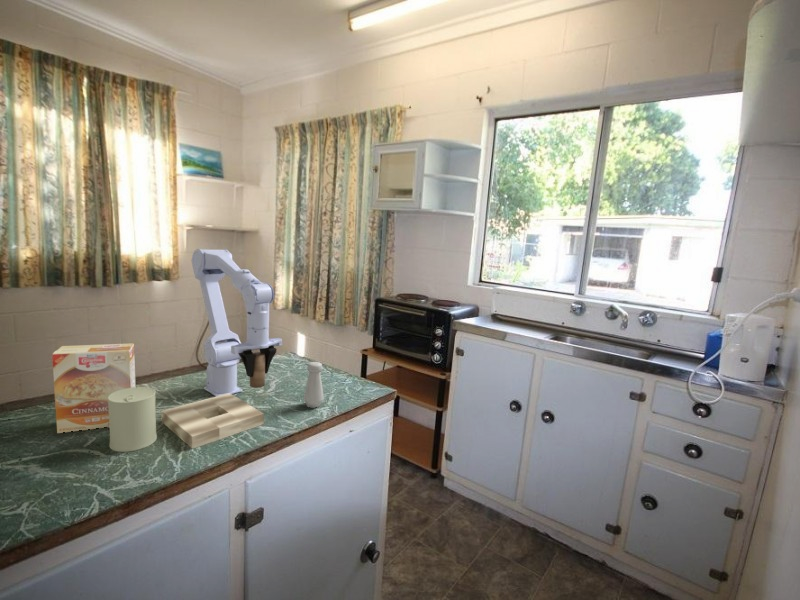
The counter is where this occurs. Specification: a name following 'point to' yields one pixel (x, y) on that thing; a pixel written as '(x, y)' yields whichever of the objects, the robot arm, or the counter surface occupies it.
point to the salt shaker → (314, 386)
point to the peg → (258, 371)
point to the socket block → (211, 419)
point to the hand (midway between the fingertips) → (257, 374)
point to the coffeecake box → (89, 383)
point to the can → (132, 418)
